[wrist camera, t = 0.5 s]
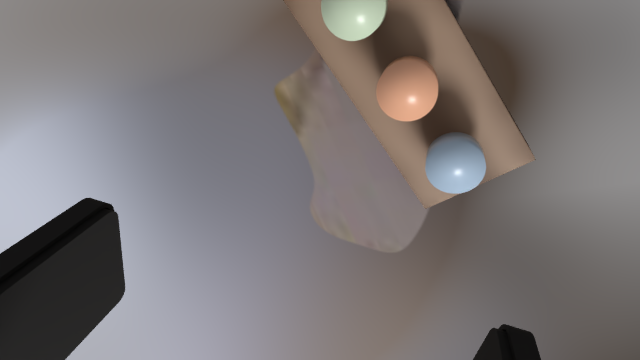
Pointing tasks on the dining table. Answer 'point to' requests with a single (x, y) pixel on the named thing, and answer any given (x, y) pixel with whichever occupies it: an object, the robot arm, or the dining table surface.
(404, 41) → the button panel
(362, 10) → the sage green button
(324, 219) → the dining table surface
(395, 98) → the terracotta button
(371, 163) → the dining table surface
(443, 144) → the slate blue button
